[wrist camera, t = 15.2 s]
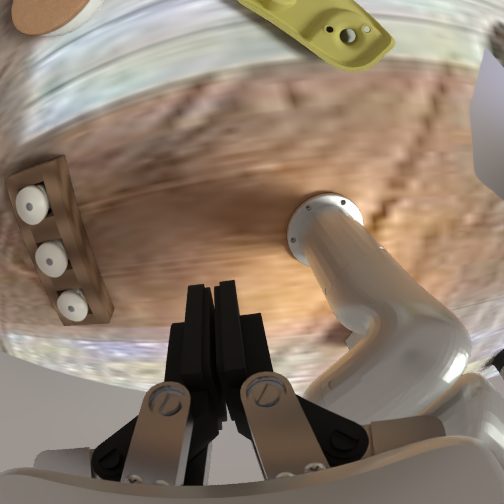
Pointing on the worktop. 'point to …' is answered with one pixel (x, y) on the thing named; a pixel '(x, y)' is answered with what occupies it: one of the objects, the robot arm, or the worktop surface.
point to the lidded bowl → (52, 15)
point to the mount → (72, 234)
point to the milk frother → (499, 363)
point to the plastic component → (322, 42)
